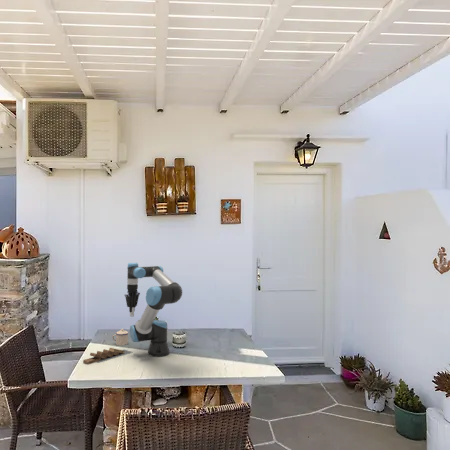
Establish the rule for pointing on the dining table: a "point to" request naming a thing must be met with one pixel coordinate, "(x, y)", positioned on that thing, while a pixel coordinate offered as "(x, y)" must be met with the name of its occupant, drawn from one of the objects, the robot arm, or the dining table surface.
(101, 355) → the tile
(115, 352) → the tile
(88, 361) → the tile
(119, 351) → the lead tile
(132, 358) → the dining table surface
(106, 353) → the tile
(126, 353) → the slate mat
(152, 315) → the robot arm
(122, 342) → the teacup with lid
